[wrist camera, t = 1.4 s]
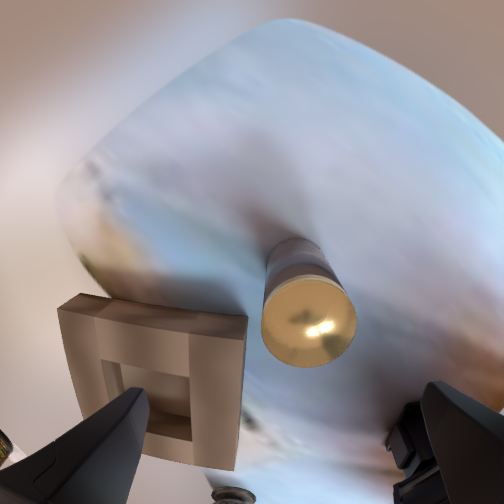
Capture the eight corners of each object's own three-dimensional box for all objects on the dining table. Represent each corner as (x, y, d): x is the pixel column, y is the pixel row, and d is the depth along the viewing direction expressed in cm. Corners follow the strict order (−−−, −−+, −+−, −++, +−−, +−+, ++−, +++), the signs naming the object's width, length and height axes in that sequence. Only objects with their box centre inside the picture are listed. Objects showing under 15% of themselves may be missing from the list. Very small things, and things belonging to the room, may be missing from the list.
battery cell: (329, 241, 21) (365, 286, 12) (321, 296, 22) (346, 369, 13) (269, 235, 21) (265, 278, 12) (264, 292, 22) (257, 363, 13)
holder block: (248, 316, 22) (243, 340, 19) (238, 444, 26) (233, 471, 22) (80, 292, 23) (57, 308, 20) (104, 416, 26) (89, 437, 23)
